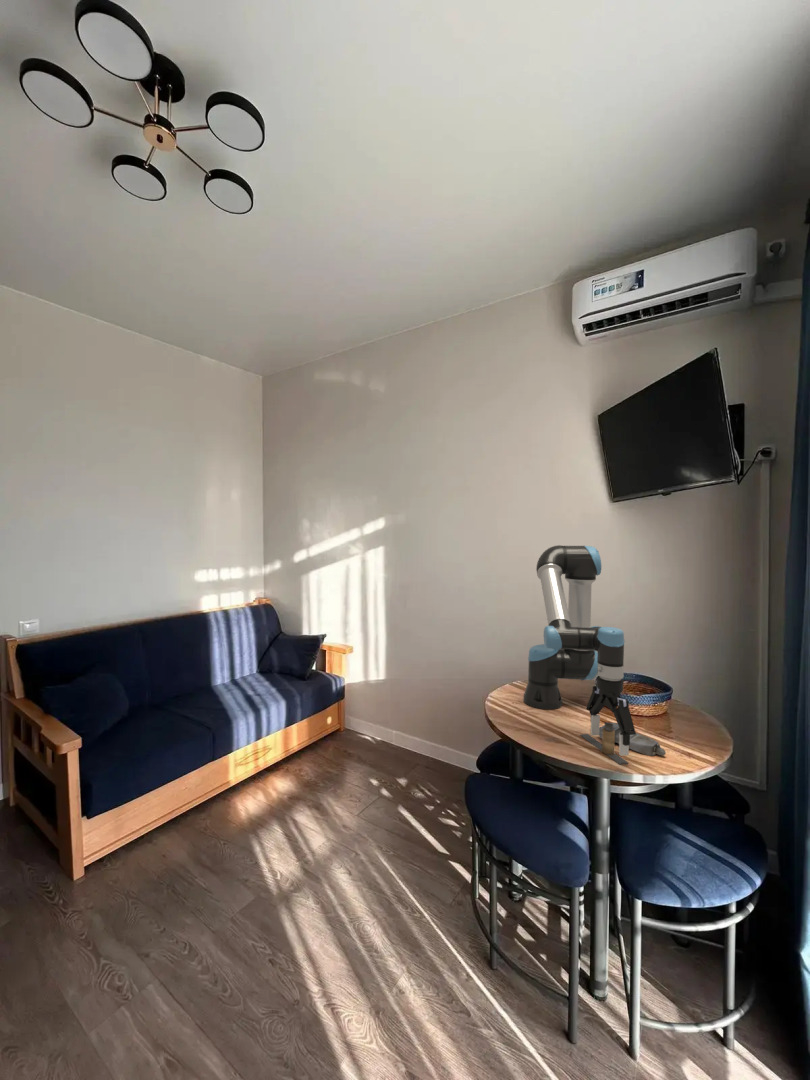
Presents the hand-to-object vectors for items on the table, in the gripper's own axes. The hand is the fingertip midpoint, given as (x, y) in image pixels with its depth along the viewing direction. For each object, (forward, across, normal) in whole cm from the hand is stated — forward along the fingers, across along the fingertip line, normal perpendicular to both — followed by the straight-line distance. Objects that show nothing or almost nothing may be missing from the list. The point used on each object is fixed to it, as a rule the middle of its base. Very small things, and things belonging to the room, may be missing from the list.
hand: (608, 744), depth 141 cm
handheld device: (+3, -3, +11) cm, 12 cm away
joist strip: (+3, -3, 0) cm, 4 cm away
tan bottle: (+2, 0, 0) cm, 2 cm away
